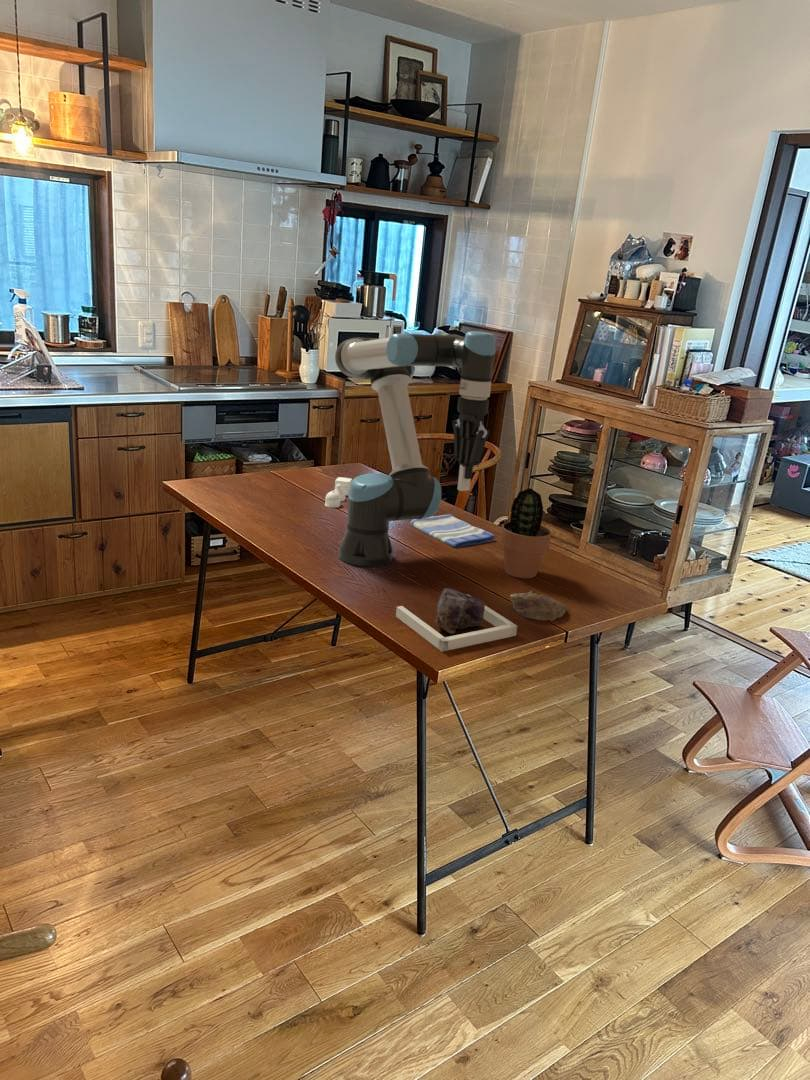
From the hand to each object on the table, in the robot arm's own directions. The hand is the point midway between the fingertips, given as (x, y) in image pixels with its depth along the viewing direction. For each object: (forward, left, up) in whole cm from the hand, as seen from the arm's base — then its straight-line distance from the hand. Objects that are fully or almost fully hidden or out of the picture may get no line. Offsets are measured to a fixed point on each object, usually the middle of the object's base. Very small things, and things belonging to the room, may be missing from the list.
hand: (463, 489), depth 207 cm
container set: (-78, +7, -27) cm, 83 cm away
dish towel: (-36, +25, -27) cm, 52 cm away
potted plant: (-1, +24, -27) cm, 36 cm away
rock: (+20, -14, -27) cm, 36 cm away
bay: (+20, -14, -26) cm, 36 cm away
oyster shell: (+21, +12, -27) cm, 36 cm away
